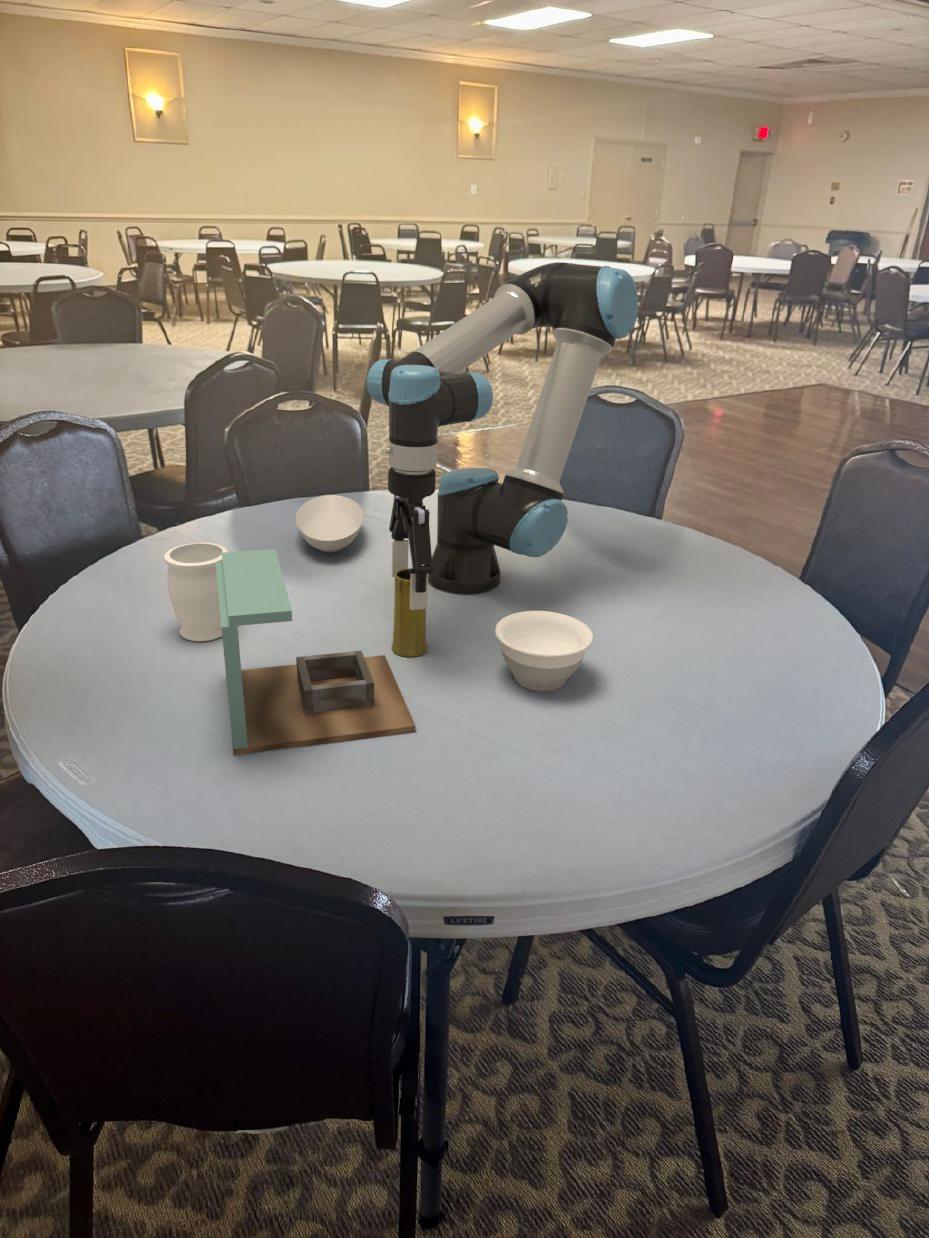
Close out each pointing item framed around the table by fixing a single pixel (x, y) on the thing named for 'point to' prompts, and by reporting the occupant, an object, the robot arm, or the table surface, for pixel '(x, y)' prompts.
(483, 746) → the table surface
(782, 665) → the table surface
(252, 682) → the socket board
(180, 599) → the jar
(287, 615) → the green l-shaped post
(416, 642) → the vase
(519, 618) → the bowl
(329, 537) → the bowl
